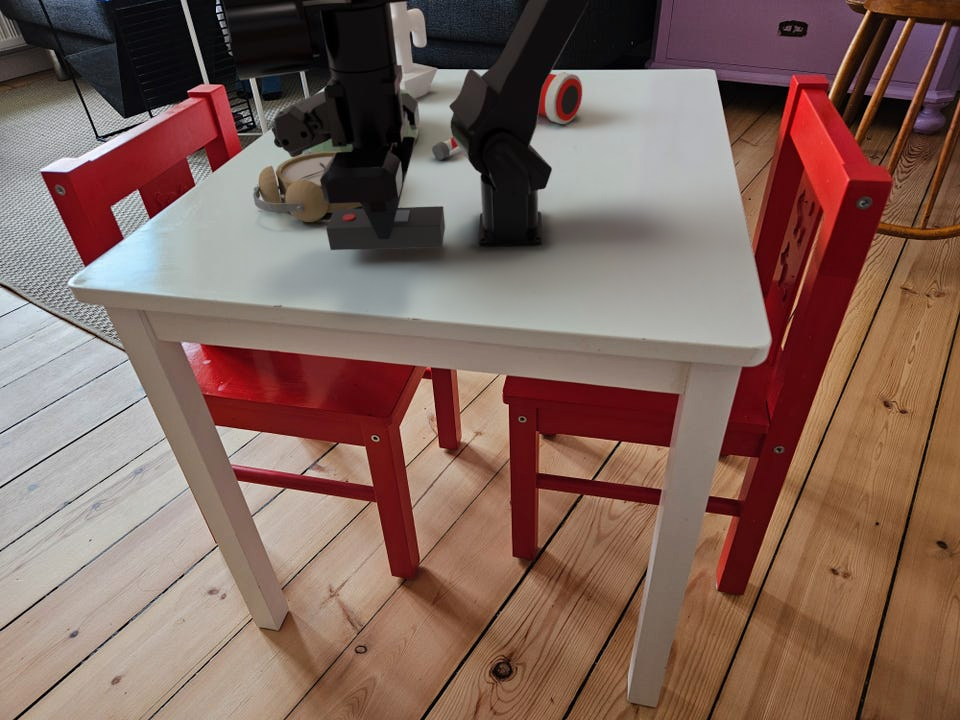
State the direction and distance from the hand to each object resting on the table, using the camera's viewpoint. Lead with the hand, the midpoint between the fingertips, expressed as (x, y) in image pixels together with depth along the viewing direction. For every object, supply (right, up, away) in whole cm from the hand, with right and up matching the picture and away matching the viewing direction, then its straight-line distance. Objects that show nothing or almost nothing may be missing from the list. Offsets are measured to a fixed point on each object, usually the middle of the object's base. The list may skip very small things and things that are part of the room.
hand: (387, 227), depth 69 cm
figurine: (-2, +28, +39) cm, 48 cm away
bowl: (-7, +16, +26) cm, 31 cm away
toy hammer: (+13, +19, +27) cm, 35 cm away
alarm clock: (-9, +5, +12) cm, 16 cm away
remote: (0, -1, +1) cm, 1 cm away
